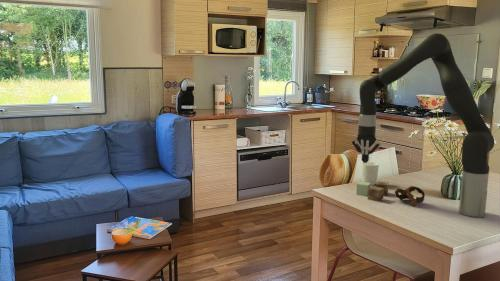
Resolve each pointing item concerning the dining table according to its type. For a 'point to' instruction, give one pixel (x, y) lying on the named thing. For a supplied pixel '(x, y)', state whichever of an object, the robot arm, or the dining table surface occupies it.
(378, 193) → the walnut block two
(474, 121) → the robot arm
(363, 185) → the plain block
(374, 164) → the white cup
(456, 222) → the dining table surface
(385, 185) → the walnut block one
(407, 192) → the brown looped ring sculpture
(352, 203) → the dining table surface
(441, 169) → the dining table surface
